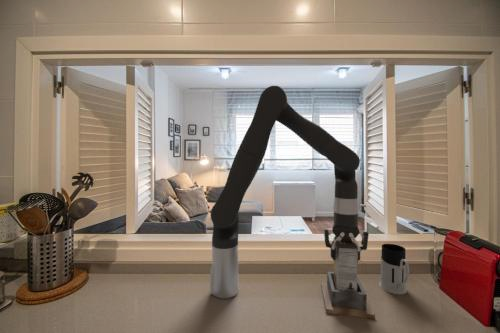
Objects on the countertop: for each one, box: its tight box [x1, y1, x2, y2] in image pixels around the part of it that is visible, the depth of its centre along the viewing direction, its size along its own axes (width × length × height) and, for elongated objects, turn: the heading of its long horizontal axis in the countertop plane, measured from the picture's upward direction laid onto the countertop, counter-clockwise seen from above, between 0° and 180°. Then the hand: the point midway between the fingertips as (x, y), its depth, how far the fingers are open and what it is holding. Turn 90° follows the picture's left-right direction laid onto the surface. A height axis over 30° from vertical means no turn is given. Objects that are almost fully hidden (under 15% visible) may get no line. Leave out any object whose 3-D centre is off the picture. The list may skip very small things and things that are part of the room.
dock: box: [320, 271, 376, 320], centre depth 80 cm, size 14×16×6 cm
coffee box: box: [333, 241, 359, 292], centre depth 79 cm, size 9×6×16 cm
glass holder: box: [378, 243, 410, 295], centre depth 84 cm, size 9×14×15 cm, turn 174°
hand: (345, 260), depth 79 cm, fingers closed on coffee box, 6 cm apart
